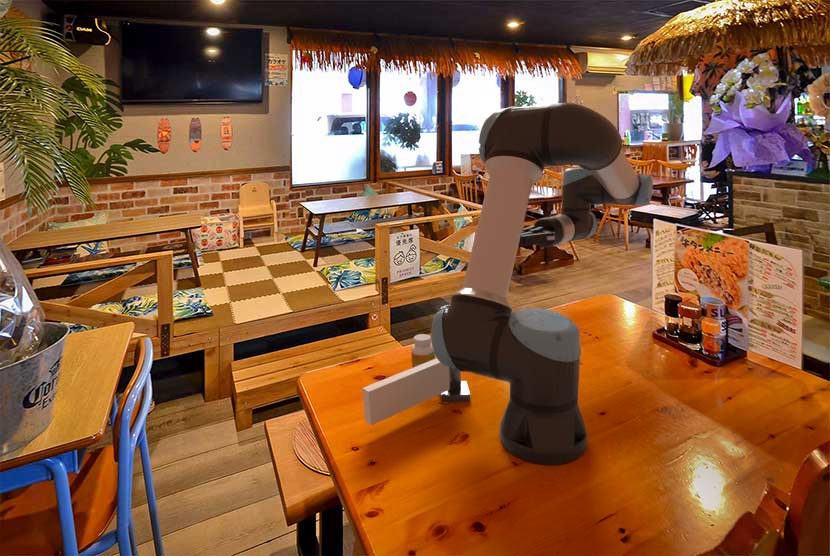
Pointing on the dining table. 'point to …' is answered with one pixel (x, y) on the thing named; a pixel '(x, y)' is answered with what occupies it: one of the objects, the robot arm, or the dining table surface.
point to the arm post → (456, 388)
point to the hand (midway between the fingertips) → (488, 244)
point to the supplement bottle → (422, 350)
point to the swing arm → (404, 390)
